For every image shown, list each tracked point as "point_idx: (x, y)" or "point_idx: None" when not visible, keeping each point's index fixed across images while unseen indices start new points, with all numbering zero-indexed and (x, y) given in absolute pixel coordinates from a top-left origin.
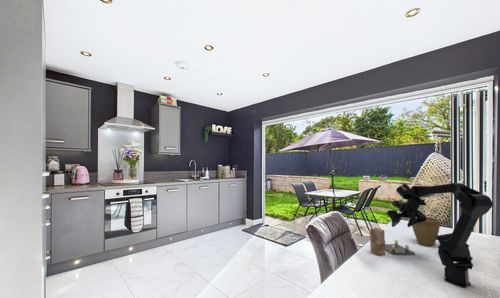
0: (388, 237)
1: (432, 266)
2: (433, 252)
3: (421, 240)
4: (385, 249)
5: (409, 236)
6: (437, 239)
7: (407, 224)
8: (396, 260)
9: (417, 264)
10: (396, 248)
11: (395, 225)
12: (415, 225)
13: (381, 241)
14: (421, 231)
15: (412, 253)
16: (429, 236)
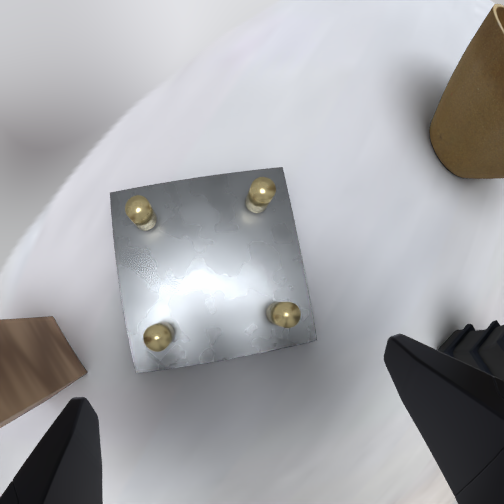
0: (302, 36)
1: (294, 498)
2: (440, 271)
3: (449, 149)
4: (122, 294)
5: (418, 42)
6: (502, 346)
7: (404, 348)
8: (121, 457)
9: (222, 494)
10: (219, 271)
11: (97, 494)
12: (489, 88)
13: (14, 418)
14: (489, 137)
15: (296, 343)
16: (499, 172)
